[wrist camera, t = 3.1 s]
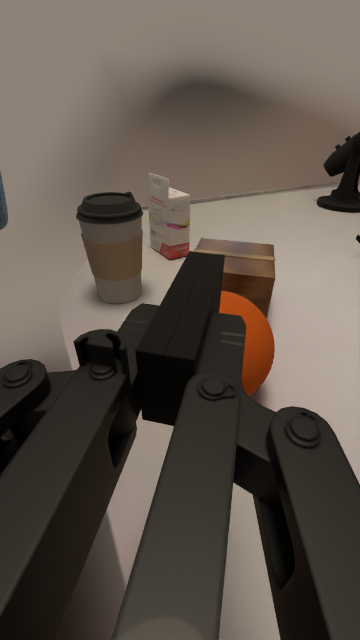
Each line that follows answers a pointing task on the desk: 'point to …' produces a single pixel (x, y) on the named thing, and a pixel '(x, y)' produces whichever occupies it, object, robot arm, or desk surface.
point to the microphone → (344, 177)
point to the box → (245, 269)
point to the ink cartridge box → (168, 218)
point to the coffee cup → (113, 244)
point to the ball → (251, 340)
